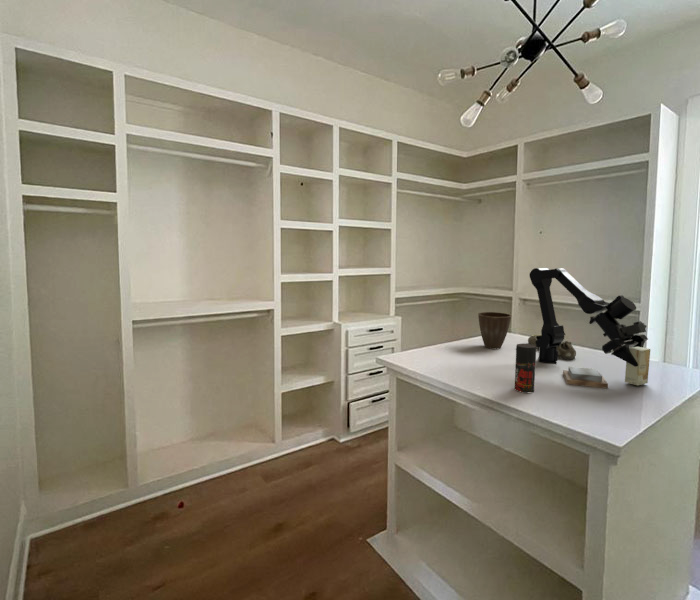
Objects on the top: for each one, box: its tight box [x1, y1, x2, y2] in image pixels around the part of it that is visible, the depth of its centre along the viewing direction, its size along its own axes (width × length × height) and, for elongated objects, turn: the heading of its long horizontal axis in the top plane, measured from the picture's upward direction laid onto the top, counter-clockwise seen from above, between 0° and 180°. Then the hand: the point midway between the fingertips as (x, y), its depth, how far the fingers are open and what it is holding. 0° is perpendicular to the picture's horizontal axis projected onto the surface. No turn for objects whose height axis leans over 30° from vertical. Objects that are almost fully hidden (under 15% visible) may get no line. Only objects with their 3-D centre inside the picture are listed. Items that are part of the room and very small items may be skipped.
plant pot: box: [477, 311, 512, 350], centre depth 190 cm, size 15×15×16 cm
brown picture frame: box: [562, 366, 609, 389], centre depth 140 cm, size 12×12×4 cm
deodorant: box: [514, 343, 537, 393], centre depth 130 cm, size 6×6×15 cm
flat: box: [527, 334, 577, 361], centre depth 183 cm, size 11×33×8 cm, turn 1°
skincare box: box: [624, 346, 651, 386], centre depth 135 cm, size 6×4×12 cm
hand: (642, 364), depth 134 cm, fingers closed on skincare box, 6 cm apart
